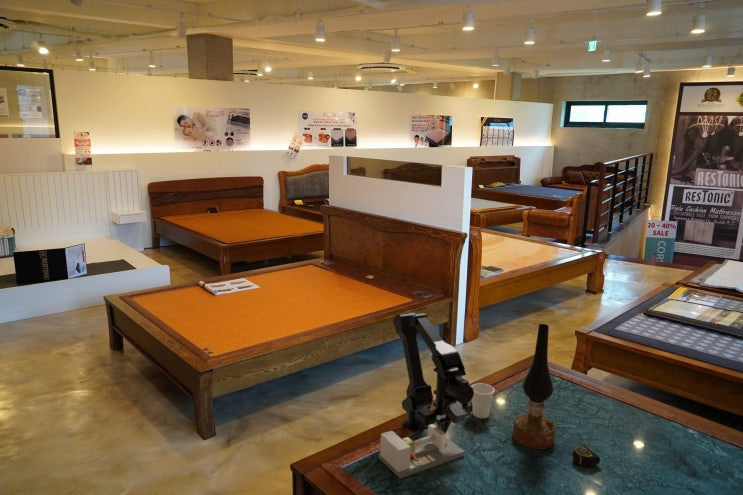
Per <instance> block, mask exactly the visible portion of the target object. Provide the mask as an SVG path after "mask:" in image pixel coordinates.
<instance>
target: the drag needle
mask: <svg viewBox="0 0 743 495" xmlns="http://www.w3.org/2000/svg"><path fill="white" fill-rule="evenodd" d="M401 439H402V440H403V441H404V442H406V443H407V444H408V445H409V446H410V447H411V449H410V457H412V458H413V459H415V460H416V461H417V462H418V461H419V460H418V459H417V458H416V457H415V443H414V440H412V439H411V438H410V437H408V436H407V437H403V438H401Z"/></svg>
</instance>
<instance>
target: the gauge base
mask: <svg viewBox="0 0 743 495" xmlns="http://www.w3.org/2000/svg"><path fill="white" fill-rule="evenodd" d="M402 439H403V438H401V437H400V436H399V435H398V434H396V433H395V432H394V431H393V430H389V431H385V432H383V433H381V434H380V446H379V448H380V449H379V450H380V452H378V456H377V457H378V459H379V460H380V461H381V462H382V463H384V465H385V466H386V467H387V468H389V470H390V471H392V473H394V475H396V476H397V478H399V479H404V478H406V477H409V476H411V475H414V474H417V473H420V472H423V471H425V470H429V469H431V468H435V467H436V466H440V465H442V464H444V463H448V462H450V461H453V460H456V459H458V458H462V457H464V456H465V450H464V449H462V448H461V447H459V445H457V444H456V443H455V442H453V441H452V440H450V439H449V438H448V437H447V436H446V443H445V449H442V450H440V449H439V448H438V447H437V446H436V445H434V444H433V443H432V442H431V441H430V442H427V443H424V444H421V445H418V446H415V457H416V458H417V459H418V460H419V461H418V462H417V461H416V460H415V459H413V458H412V457H410V449H411V447H410V446H409V445H408V444H407V443H406V442H404V441H403V440H402Z"/></svg>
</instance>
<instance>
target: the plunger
mask: <svg viewBox="0 0 743 495" xmlns="http://www.w3.org/2000/svg"><path fill="white" fill-rule="evenodd" d="M446 437H447V432H446V433H444V432H443V431H442V430H440V429H439V428H438V426H437V425H435V423H434V424H431V425H428V427H427V436H425V437H422V438H421V437H420V438H418V439H416V440H413V442H414V443H415V446H418V445H421V444H424V443H427V442H430V441H431V442H432V443H433V444H434V445H436V446H437V447H438V448H439V449H440V450H442V449H445V443H446Z"/></svg>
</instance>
